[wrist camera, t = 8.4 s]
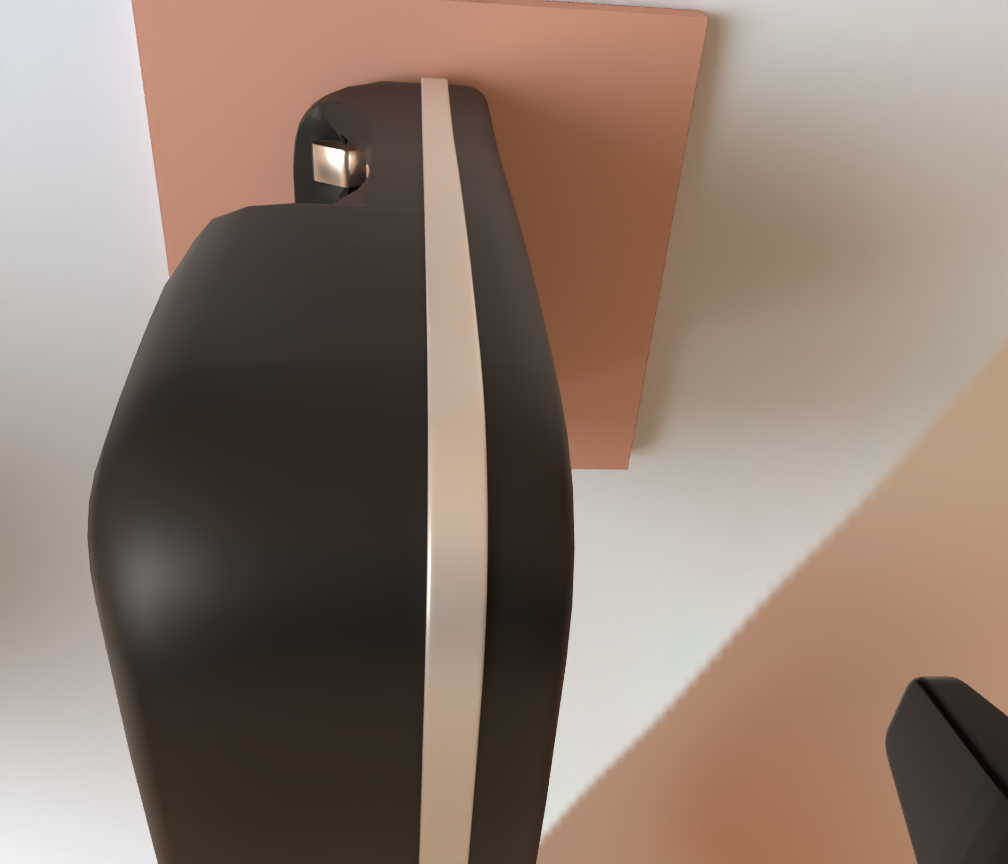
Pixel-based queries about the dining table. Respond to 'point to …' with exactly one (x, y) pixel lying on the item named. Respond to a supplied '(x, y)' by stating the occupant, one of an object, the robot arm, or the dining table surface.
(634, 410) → the mat
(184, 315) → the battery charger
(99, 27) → the dining table surface
